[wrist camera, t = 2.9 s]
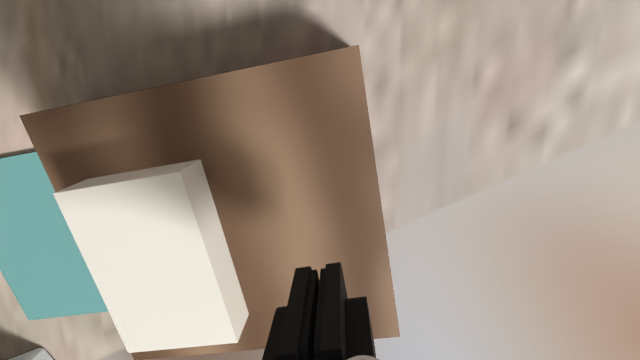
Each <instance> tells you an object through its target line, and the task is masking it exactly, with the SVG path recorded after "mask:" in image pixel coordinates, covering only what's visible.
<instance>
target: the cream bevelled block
mask: <svg viewBox="0 0 640 360" xmlns="http://www.w3.org/2000/svg"><path fill="white" fill-rule="evenodd" d="M53 195H54V197H55V199H56V201H57V203H58V206H59V208H60V210H61V212H62V214H63V216H64V218H65V220H66V222H67V225H68V227H69V229H70V231H71V233H72V235H73V237H74V239H75V241H76V244H77V246H78V248H79V250H80V252H81V254H82V256H83V258H84V260H85V262H86V265H87V267H88V269H89V271H90V273H91V275H92V277H93V279H94V281H95V284H96V286H97V288H98V290H99V292H100V294H101V296H102V298H103V300H104V303H105V305H106V307H107V309H108V311H109V313H110V315H111V317H112V319H113V322H114V324H115V326H116V328H117V330H118V332H119V334H120V336H121V338H122V341H123V343H124V345H125V347H126V349H127V351H128V353H134V352H145V351H155V350H166V349H177V348H187V347H198V346H209V345H220V344H230V343H238V341H239V338H240V336H241V333H242V330H243V328H244V325H245V323H246V320H247V318H248V315H249V313H248V309H247V306H246V303H245V300H244V297H243V293H242V290H241V287H240V284H239V281H238V277H237V274H236V271H235V268H234V265H233V261H232V258H231V255H230V252H229V249H228V245H227V242H226V239H225V236H224V233H223V230H222V226H221V223H220V220H219V217H218V214H217V210H216V207H215V204H214V201H213V198H212V194H211V191H210V188H209V185H208V182H207V178H206V175H205V172H204V169H203V166H202V162H201V159H199V160H193V161H188V162H182V163H176V164H170V165H165V166H159V167H153V168H147V169H142V170H136V171H130V172H124V173H118V174H113V175H107V176H101V177H95V178H90V179H86V180H84V181H81V182H79V183H76V184H74V185H72V186H69V187H67V188H65V189H62V190H60V191H58V192H55V193H53Z"/></svg>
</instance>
